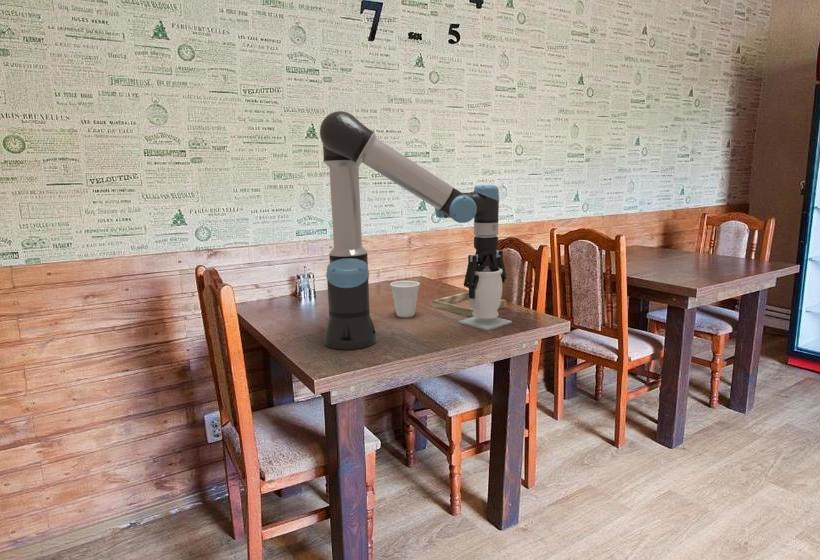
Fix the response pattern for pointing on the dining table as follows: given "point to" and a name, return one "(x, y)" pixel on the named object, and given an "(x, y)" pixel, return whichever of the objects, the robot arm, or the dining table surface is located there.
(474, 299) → the robot arm
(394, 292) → the cup
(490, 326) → the mat
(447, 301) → the square wooden frame
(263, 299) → the dining table surface
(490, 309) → the jar
